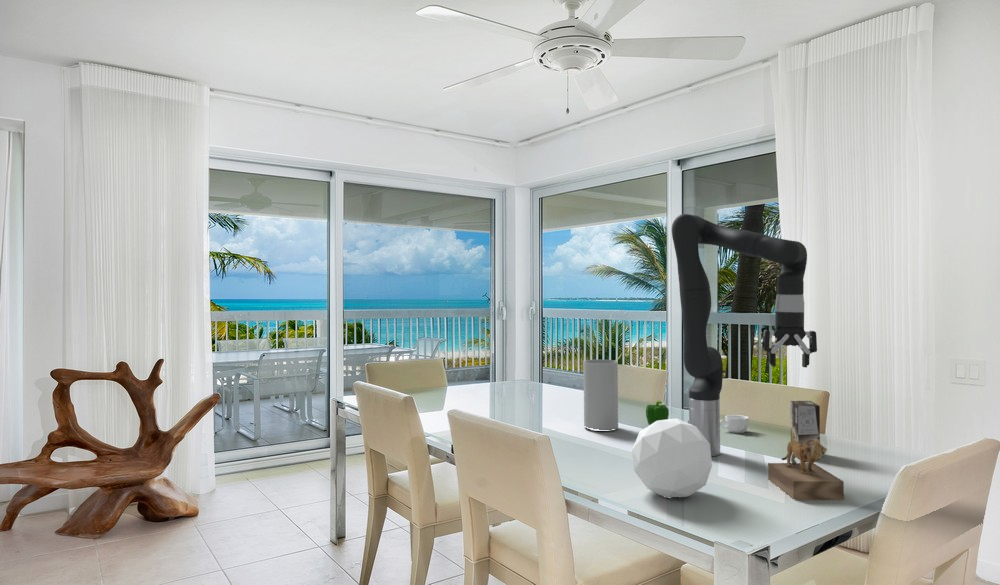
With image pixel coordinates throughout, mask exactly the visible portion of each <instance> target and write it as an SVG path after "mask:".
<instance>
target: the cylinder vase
mask: <svg viewBox="0 0 1000 585" xmlns="http://www.w3.org/2000/svg"><path fill="white" fill-rule="evenodd" d="M582 362H583V366H582V367H583V427H584V426H586V427H588V428H593V429H599V430H612V429H617V428H618V429H619V379H618V377H619V376H618V372H619V371H618V370H619V368H618V360H613V359H586V360H583V361H582ZM618 429H617V430H618Z"/></svg>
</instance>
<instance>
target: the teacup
mask: <svg viewBox="0 0 1000 585" xmlns="http://www.w3.org/2000/svg"><path fill="white" fill-rule="evenodd" d="M722 422H724V423H725V425H722ZM720 427H722V428H726V429H727V430H728V431H729V432H730V433H732V434H733V433H734V434H743V433H746V431H747V430H748V427H749V416H747V415H746V416H745V415H740V414H728V415H725V417H724V419H720Z"/></svg>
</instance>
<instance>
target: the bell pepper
mask: <svg viewBox="0 0 1000 585" xmlns="http://www.w3.org/2000/svg"><path fill="white" fill-rule="evenodd" d="M669 416H670V413H669V408H668V407H667V405H666V404H662V401H661V400H657V401H656V402H655V404H647V405H646V408H645V417H646V420H647V424H648V426H649V425H651V424H652V423H654V422H656V421H658V420H666V419H669Z"/></svg>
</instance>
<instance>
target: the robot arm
mask: <svg viewBox="0 0 1000 585" xmlns="http://www.w3.org/2000/svg"><path fill="white" fill-rule="evenodd" d="M671 236H672V242H673V248H674V251H675V257H676V263H677V275H678V284H679V299H680V306H681V316H682V325H683V365H684V368H685V370H686V372H687V373H688V375H689V376H691V377H692V378H694V381H693V383H692V385H691V386H690V388H689V389H688V420H687V423H689V424H691V425H694V426H696V427H697V428H698V429H699V431H700V432H701V433H702V435H703V436H704V437H705V439H706V440H707V441H708V442H709V444H710V450H711V457H716V456H719V454H720V455H721V425H720V421H721V412H720V411H721V407H720V405H721V402H720V401H721V399H720V398H721V397H720V396H721V392H722V389H723V370H724V364H723V358H722V355H721V353H720V352H719V350H717V349H716V348H715V347H712V346H708V340H707V327H708V321H709V318H710V315H711V310H712V294H711V286H710V281H709V279H708V276H707V273H706V271H705V269H704V267H703V264H702V262H701V258H700V252H699V245H710V246H711V245H712V246H717V247H722V248H725V249H728V250H730V251H733V252H735V253H739V254H743V255H745V256H750V257H754V258H758V259H765V260H767V261H771V262H773V263H777V264H780V265H781V268H780V274H779V275H778V276H777V278H776V279H777V280H776V298H775V303H774V304H775V307H774V311H775V312H774V313H775V316H774V317H775V318H774V320H775V321H774V326H775V327H774V330H768V329H764V330H762V332H763V333H762V344H761V350H762V351H764V352H767V353H768V364H769V365H770V366H771V367H774V368H775V367H776V366H777V365H776V364H777V362H776V360H777V359H776V357H777V354H776V352H778V350H779V349H780V348H781V347H782V346H785V347H788V346H793V347H798V348H799V349H800V350H801V352H802V354H801V357H802V358H801V366H802V368H808V366H809V365H810V354H813V353H817V351H818V344H817V342H818V341H817V340H818V338H817V332H816V331H814V330H809V331H807V330H806V331H805V297H804V296H805V294H804V289H805V286H804V283H805V282H804V278H805V274H806V268H807V263H808V262H807V261H808V253H807V248H806V246H805V245H804V244H803V243H802V242H800V241H797V240H789V239H784V238H778V237H773V236H770V235H767V234H763V233H761V232H760V233H759V232H755V231H750V230H745V229H739V228H734V227H733V228H731V227H727V226H722V225H721V224H718V223H717V224H716V223H713V222H711V221H710V220H707V219H704V218H702V217H700V216H698V215H694V214H689V213H683V214H678V216H676V217H675V218H674V220H673V222H672V224H671ZM772 336H774V338H776V339H775V341H774V342H773V343H772V345H771V346H770V339H771V338H772ZM805 337H806V338H807V339H808V341H809V347H807V344H805V342H804V341H803V340H804V338H805Z"/></svg>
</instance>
